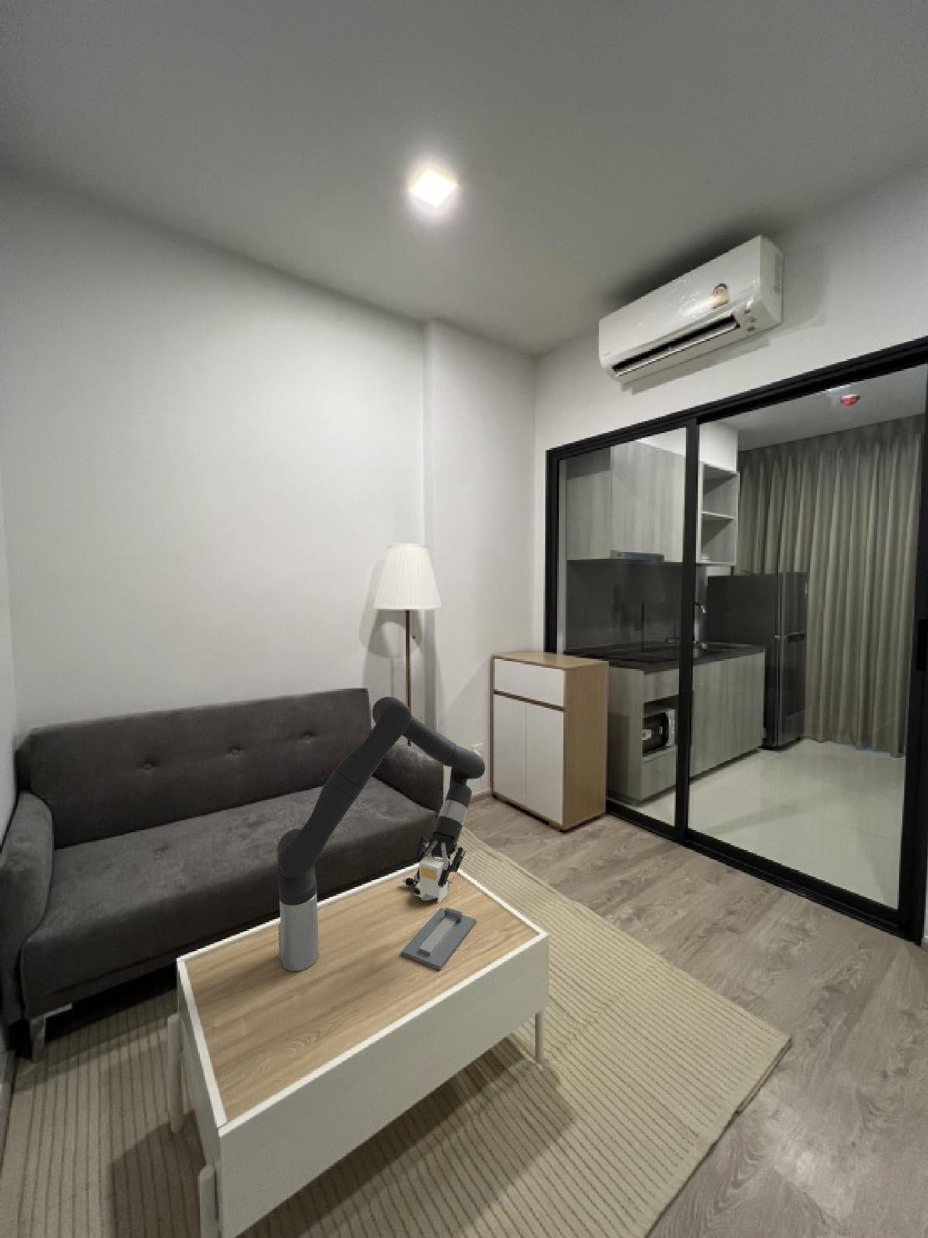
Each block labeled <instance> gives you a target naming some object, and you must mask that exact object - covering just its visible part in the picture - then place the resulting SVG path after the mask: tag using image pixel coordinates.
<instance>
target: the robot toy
mask: <svg viewBox="0 0 928 1238" xmlns="http://www.w3.org/2000/svg"><path fill="white" fill-rule="evenodd" d="M402 883H404V884H405V885H406V886H411V887H412V886H414V885H415V888H414V889H413V890H414V891H413V892H414V893H413V897H414V896H415V897H417V898H418V899H419V900H420V901H430V900H435V899H438V897H435V896H432V895H429V894H425V895H424V896H423V897H420V880H418V879H417V871H416V872H414V873H413V878H411V877H407V878H406V877H405V878H403V879H402ZM450 884H453V885H454V884H455V882H454V881H450V880H448V879H447V892H449V890H450V889H449V888H450Z"/></svg>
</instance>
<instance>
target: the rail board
mask: <svg viewBox="0 0 928 1238" xmlns="http://www.w3.org/2000/svg"><path fill="white" fill-rule="evenodd" d="M444 910H445V908H442V907H439V909H438V910H437V911H436V912H435V913H434V914H433V916H432V917H431V918H430V919H429V920H428V921H427V923H425V924H424V926H423V927H421V929H420V930H419V931H418V933H416V934H415V936H413V938H412V939H411V940H410V941H409V942H408V943H407V945H406V946H405V947H404V948H402V950H401V955H402V956H404V957H406V958H409V959H411V960H413V961H416V962H418V963H421V964H423V965H425V966H428V967H431V968H433V969H435V970H437V971H441V970H442V969H444V966H446V964H447V963H448V961H449V960H450V959H451V957H452V956H453V954H454V953H455V952H456V951H457V950H458V948H459V947H460V945H461V944H462V943H463V942H464V940H465V939H466V937H467V936H468V935H469V933H470V932H471V931H472V929H473V928H474V927H475V925H476V924H477V919H476V918H473V917H471V916H467V915H464V914H462V922H461V923H459V922H457V924H456V925H455V926H454V927H453V929H452V930H451V931H450V932H449V934H448V935H447V936H446V937H445V938H444V940H443V941H442V942H441V943H440V945H439V946H438V947H437V948H436V950H435V951H434V952H433V953H432V954H431V956H429V955H427V954H424V953H422V952H419V947H420V946H421V945H422V944H423V943H424V941H425V940H426V939H427V938H428V937H429V936H430V934H431V933H432V932H433V931H434V930H435V929H436V927H437V926H438V925H439V924H440V923H441V922H442V921H443V919H444V918H445V912H444Z"/></svg>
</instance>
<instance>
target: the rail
mask: <svg viewBox="0 0 928 1238" xmlns="http://www.w3.org/2000/svg"><path fill="white" fill-rule="evenodd" d="M444 909H445V910H444V912H445V918H444V919H443V921H442V922H441V923H440V924H439V925H438V926H437V927H436V929H435V930H434V931H433V932H432V933H431V934H430V936H429V937H428V938H427V939H426V940H425V941H424V943H423V944H422V945H421V946H420V947H419V952H422V953H424V954H427V955H429V956H431V954H432V953H433V952H434V951H435V950H436V948H437V947H438V946H439V945H440V943H441V942H442V941H443V940H444V938H445V937H446V936H447V935H448V934H449V932H450V931H451V930H452V929H453V927H454V926H455V925H456V924H457V922H459V923H461V922H462V915H463V912H462V911H460V910H456V909H453V908H450V907H445V908H444Z"/></svg>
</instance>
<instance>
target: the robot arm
mask: <svg viewBox="0 0 928 1238" xmlns="http://www.w3.org/2000/svg"><path fill="white" fill-rule="evenodd" d="M372 706H373V707H372V711H371V716H372V719H373V722H374V724H375V725H374V726H373V728H372V730H370V733H369V734H368V736H367V737H366V738H365V740H364V741H363V742H362V743H361V744H360V745H359V746H358V747H357V748H355V749H354V750H353V751H352V752H350V753H349V754H347V755H346V756H345V757H344V758H343V759H342V760H341V761H340V762H339V763H338V765H336V767H335V768H334V769H333V771H332V773H331V774H330V776H329V777H328V779H327V780H326V781H325V783H324V784H323V787H322V788H321V791H320V793H319V795H318V799H317V800H316V801H315V802H316V803H315V805H314V808H313V810H312V812H311V813H310V816H309V817H308V819H307V821H306V823H305V825H304V826H303V827H302V828H296V829H295V828H293V829H291V830H289V831H287V832H286V833H284V835H282V836H281V838H280V840H279V842H278V844H277V848H276V856H277V857H276V858H277V859H276V861H277V882H278V883H277V884H278V895H279V897H278V898H279V915H280V916H279V917H280V922H279V924H278V929H277V932H278V934H277V935H278V955H279V961H281V963H282V967H283V968H284V969H285V971H289V972H300V971H304V970H307V969H309V968H310V967H311V966H313V965H314V964H315V963H316V962H317V960H318V959H319V956H320V944H319V943H320V942H319V919H318V918H319V917H318V916H319V915H318V912H319V911H318V892H317V889H318V888H317V877H316V866H315V864H316V862H317V860H318V859H319V857H320V855H321V853H322V851H323V849H324V848H325V845H327V843H328V840H329V839H330V837H331V835H332V833H333V832H334V831H335V829H336V828H337V826H338V825H339V823H340V822H341V821H342V820H343V818H344V816H345V815H346V814H347V812H348V810H349V809H350V808H351V806H352V805H353V804H354V802H355V801H356V799H357V798H358V796H360V794H361V793H362V791H363V789H364V788H365V786H366V785H367V783H368V782H369V781H370V778H371V777H372V776H373V774H374V772H376V770H377V768H378V767H379V766H380V765H381V762H382V761H383V760H384V758H385V757H386V755H387V754H388V753H389V752H390V750H391V749H392V748H393V746H395V744H396V743H397V742H398V741H399V739H400V738H401V737H404V738H405V739H407V740H408V741H409V742H411V743H412V744H414V745H415V746H416V747H418V748H419V749H421V751H423V753H425V754H427V755H428V756H429V757H431V758H432V759H434V760H435V761H437V762H438V763H439V764H441V765H443V766H444V767H447V768H448V767H449V768H450V776H449V787H448V791H447V794H446V796H445V799H444V802H443V804H442V805H441V808H440V810H439V813H438V817H437V819H436V822H435V825H434V828H433V830H432V834H431V837H429V838H425V837H423V836H421V837H419V842H418V846H417V851H416V854H415V859H416V860H417V861H418V863H419V862H421V861H422V860H423V859H424V858H425V857H429V856H431V857H434V858H438V859H440V858H441V859H442V860H443V861H444V862H445V863H444V870H442V873H441V876H440V879H439V882H438V886H440V887H443V886H444V885H445V884H446V882H447V880H448V879H449V876H450V873H453V872H454V873H457V872H458V870H459V869H460V866H461V864H462V861H463V859H464V857H465V855H466V850H465V849H464V848H463V846H458V841H459V839H460V837H461V833H462V830H463V827H464V824H465V823H466V822H465V821H466V818H467V811H468V809H469V805H470V802H471V799H472V793H473V791H472V789H471V788H470V787H469V786H468V785H467V782H468V780H477V779H480V778H481V777H482V776H483V775H484V774H485V772H486V764H485V761H484V760H483V758H482V757H481V756H480V755H479V754H477V753H475V752H474V751H472V750H469V749H467V748H464V747H462V746H459V745H457V744H456V743H455V742H453V741H452V740H450V739H449V738H448V737H446V736H444V735H443V734H441V733H440V732H438V731H436V730H435V729H433V728H431V727H429V726H428V725H426V724H425V723H423V722H422V721H421V720H419V719H418V718H416V717H415V715H412V710H411V708H410V707H409V706H408V705H407V704H406V703H404V702H403V701H401V700H400V699H398V698H396V697H393V696H384V697H381V698H379V699H378V700H376V702H375V703H374V704H373V705H372ZM427 847H429V848H428V849H427ZM426 849H427V850H426ZM452 854H455V855H454V857H453V860H452V857H451V856H452ZM416 873H417V879H418V880H420V874H419V867H418V869H417V871H416Z"/></svg>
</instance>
